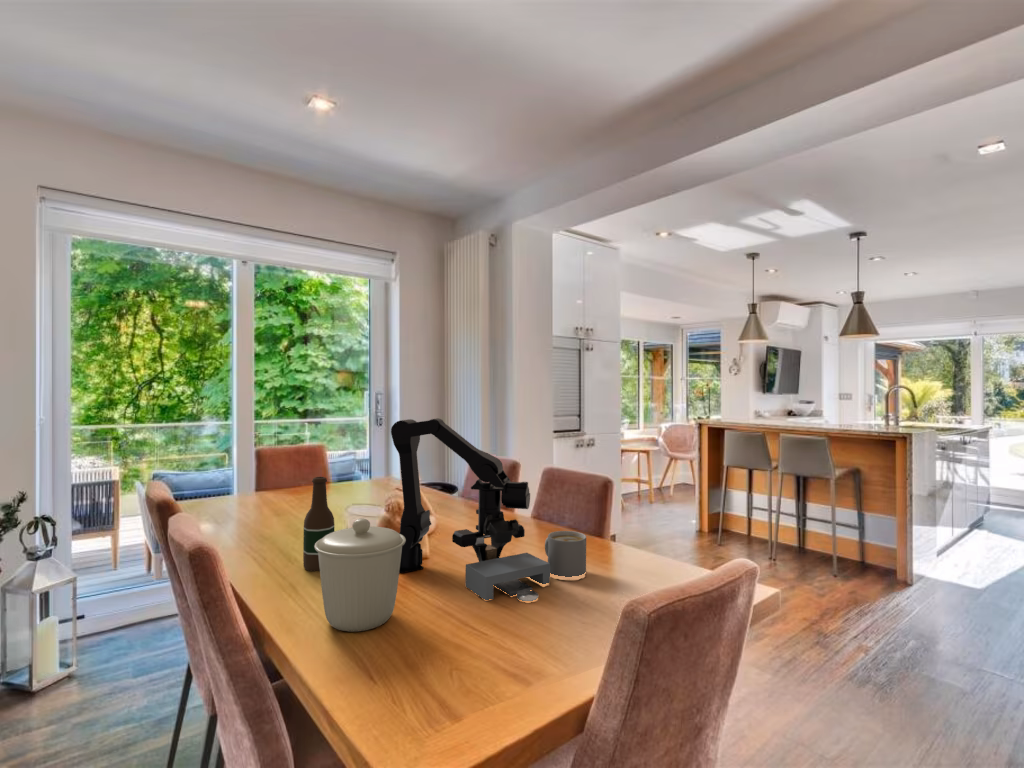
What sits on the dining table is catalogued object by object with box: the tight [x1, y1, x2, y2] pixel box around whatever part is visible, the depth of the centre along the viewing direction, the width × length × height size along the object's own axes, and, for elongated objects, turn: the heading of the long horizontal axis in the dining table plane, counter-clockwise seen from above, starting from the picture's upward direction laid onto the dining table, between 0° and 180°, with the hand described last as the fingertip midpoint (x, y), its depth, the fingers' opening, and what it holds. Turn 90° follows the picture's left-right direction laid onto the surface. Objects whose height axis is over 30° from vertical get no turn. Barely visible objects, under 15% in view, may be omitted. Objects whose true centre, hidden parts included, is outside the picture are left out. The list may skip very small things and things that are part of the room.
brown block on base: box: [485, 544, 533, 596], centre depth 130 cm, size 6×18×7 cm, turn 33°
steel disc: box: [516, 590, 540, 601], centre depth 121 cm, size 5×5×1 cm
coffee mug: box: [544, 530, 587, 577], centre depth 138 cm, size 13×10×10 cm
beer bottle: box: [302, 476, 335, 572], centre depth 141 cm, size 8×8×24 cm
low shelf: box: [464, 552, 551, 600], centre depth 128 cm, size 18×10×6 cm, turn 122°
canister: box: [314, 517, 406, 633], centre depth 109 cm, size 18×18×21 cm
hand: (488, 567), depth 136 cm, fingers closed on brown block on base, 3 cm apart
